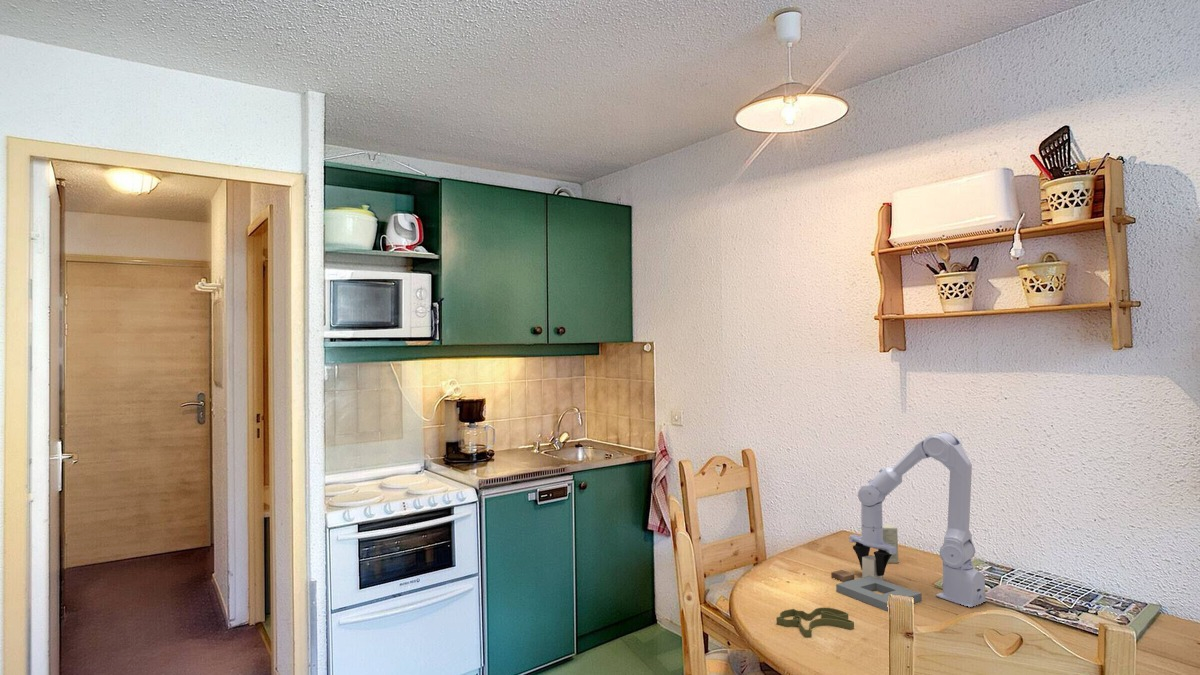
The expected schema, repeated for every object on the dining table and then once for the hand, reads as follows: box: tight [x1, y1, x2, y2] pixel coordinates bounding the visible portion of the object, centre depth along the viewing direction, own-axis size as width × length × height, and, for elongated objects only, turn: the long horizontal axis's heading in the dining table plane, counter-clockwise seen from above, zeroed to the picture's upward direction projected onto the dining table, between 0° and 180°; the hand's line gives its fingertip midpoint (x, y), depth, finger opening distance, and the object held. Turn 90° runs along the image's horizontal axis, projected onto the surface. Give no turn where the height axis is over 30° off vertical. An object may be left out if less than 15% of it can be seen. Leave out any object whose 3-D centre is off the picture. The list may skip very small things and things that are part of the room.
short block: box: [830, 569, 855, 583], centre depth 187 cm, size 4×4×2 cm
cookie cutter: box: [776, 607, 855, 638], centre depth 156 cm, size 18×12×2 cm, turn 110°
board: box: [835, 576, 922, 612], centre depth 174 cm, size 16×14×2 cm
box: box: [877, 524, 899, 564], centre depth 204 cm, size 5×4×11 cm
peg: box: [861, 554, 884, 580], centre depth 188 cm, size 4×4×6 cm
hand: (872, 572), depth 188 cm, fingers open, 5 cm apart
